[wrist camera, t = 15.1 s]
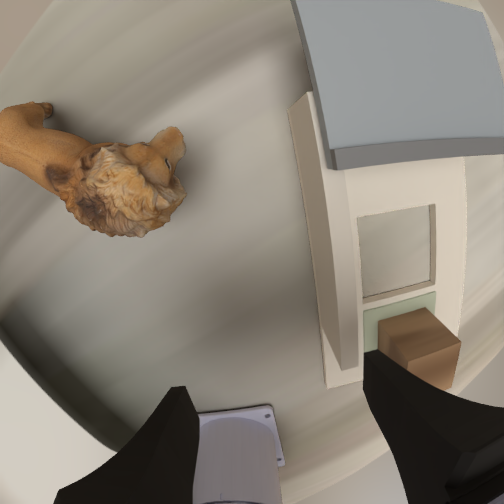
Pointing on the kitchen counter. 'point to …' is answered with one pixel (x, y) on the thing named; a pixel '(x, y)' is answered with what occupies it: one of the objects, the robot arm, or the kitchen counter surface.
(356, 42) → the cover
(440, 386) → the block
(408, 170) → the puzzle board
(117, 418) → the kitchen counter surface
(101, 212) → the lion figurine
